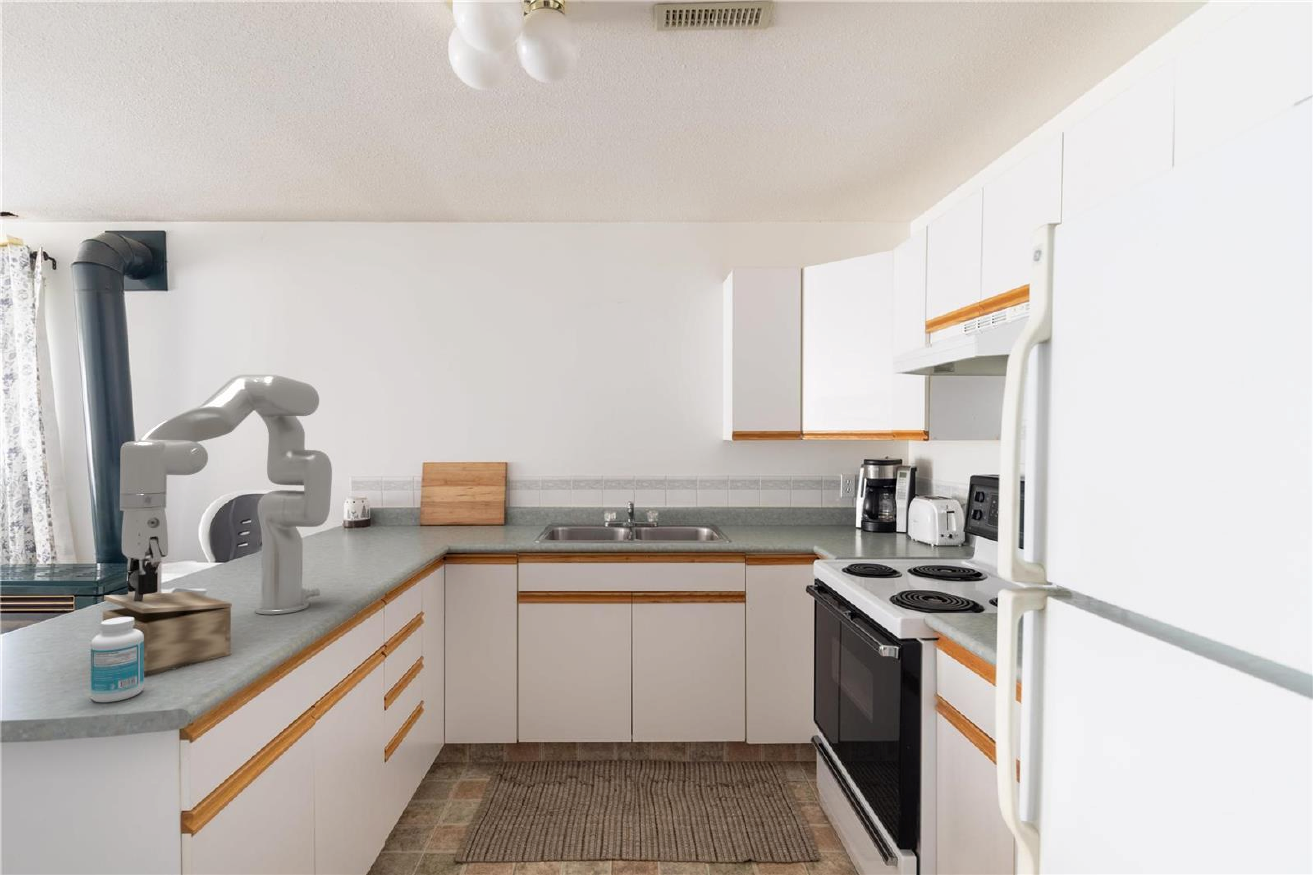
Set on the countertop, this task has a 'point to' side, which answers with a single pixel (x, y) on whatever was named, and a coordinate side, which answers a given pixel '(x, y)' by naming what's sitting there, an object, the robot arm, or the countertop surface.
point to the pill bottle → (117, 661)
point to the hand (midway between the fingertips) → (142, 591)
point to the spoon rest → (185, 590)
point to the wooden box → (180, 636)
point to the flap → (164, 600)
